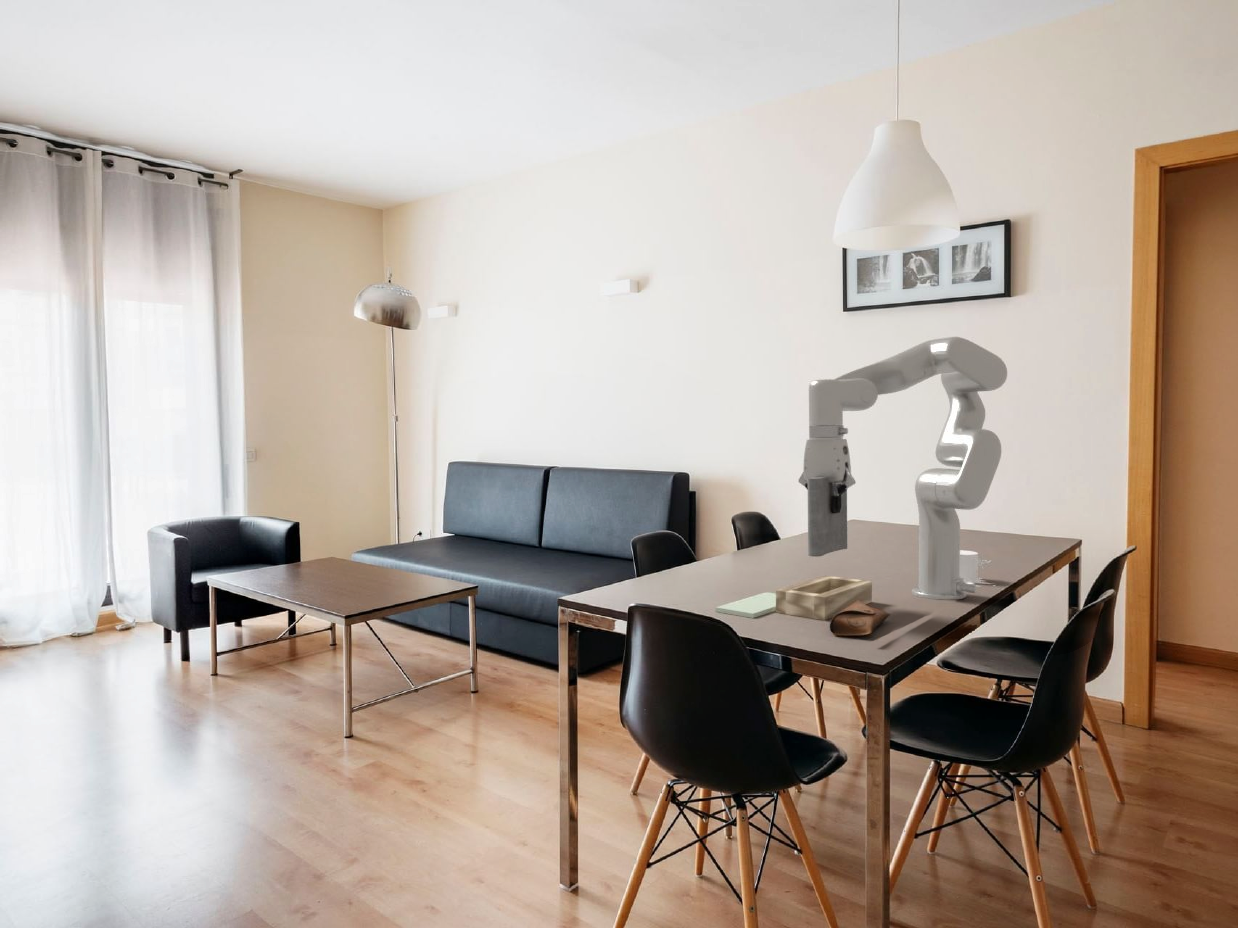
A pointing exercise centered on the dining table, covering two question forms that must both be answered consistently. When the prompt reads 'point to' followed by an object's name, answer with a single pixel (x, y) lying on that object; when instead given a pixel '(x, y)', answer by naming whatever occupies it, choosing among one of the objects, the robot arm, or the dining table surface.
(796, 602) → the beige open box
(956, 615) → the dining table surface
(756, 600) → the mat
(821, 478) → the hip flask
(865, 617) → the sunglasses case
